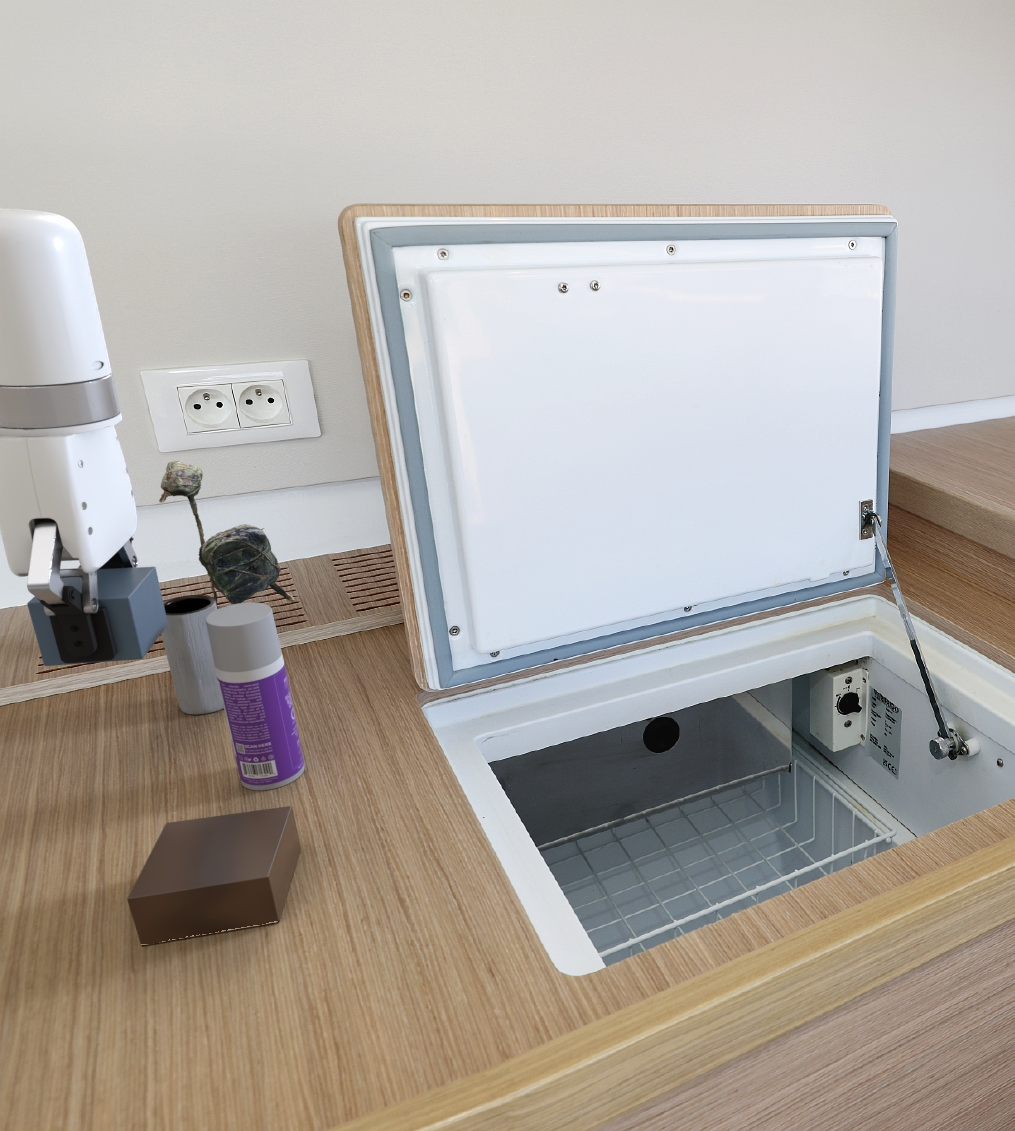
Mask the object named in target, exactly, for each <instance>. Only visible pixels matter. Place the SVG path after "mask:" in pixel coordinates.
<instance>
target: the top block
mask: <svg viewBox="0 0 1015 1131" xmlns="http://www.w3.org/2000/svg"><path fill="white" fill-rule="evenodd" d="M96 572H97V587H98V602H99V607H106V610H107V614H108V618H109V622H110V626H111V630H112V634H113V638H114V643H115V647H116V651H117V654H116V656H115V657H114V658H113V659H112V660H108V661H95V662H81V663H64V662H62V661H61V659H60V655H59V651H58V648H57V644H56V640H55V636H54V633H53V629H52V625H51V622H50V618H49V616H47V615H46V614H45V611H44V605H42V604H41V602H40V601H39V600H38V598H37V597H35V596H33V597H32V598H31V599H30V600H29V601H28V602H27V603H26V604H27V608H28V613H29V617H30V619H31V623H32V627H33V630H34V634H35V637H36V641H37V645H38V649H39V652H40V656H41V659H42V663H43V666H44V667H55V666H67V665H79V664H81V665H82V664H92V663H93V664H94V663H107V662H109V663H110V662H120V661H121V662H122V661H136V660H143V659H145V657H146V655H147V654H148V653H149V651H150V650H151V648H152V647H153V645H154V644H155V643H156V642H157V640H158V639H159V637H160V636H162V635H161V633H162V632H163V630H164V629H165V628H166V626H167V625H168V622H167V617H166V613H165V608H164V604H163V602H164V599H163V595H162V591H161V586H160V581H159V576H158V572H157V568H156V566H140V567H138V566H137V568H115V569H97V570H96ZM61 580H62V581H63V582H64V585H65V586H73V587H74V588H76V589H77V590H78V591H79V592H81V593H82V591H81V577H70V578H61Z"/></svg>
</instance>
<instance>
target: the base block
mask: <svg viewBox="0 0 1015 1131" xmlns="http://www.w3.org/2000/svg"><path fill="white" fill-rule="evenodd" d="M301 850H302V847H301V841H300V837H299V832H298V827H297V823H296V817H295V813H294V808H293V806H292V805H287V806H279V807H273V808H266V809H258V810H250V811H244V812H243V811H242V812H236V813H229V814H221V815H214V816H208V817H206V816H205V817H199V818H193V819H184V820H178V821H177V820H176V821H171V822H166V823H165V825H164V827H162V830H161V832H160V834H159V835H158V838H157V840H156V841H155V844H154V845H153V847H152V850H151V852H150V854H149V855H148V857H147V859H146V861H145V862H144V865H143V867H142V869H141V871H140V873H139V875H138V877H137V879H136V881H135V883H134V884H133V887H132V888H131V890H130V893H129V894H128V896H127V897H126V898H127V899H126V900H127V904H128V907H129V910H130V914H131V916H132V920H133V923H134V927H135V930H136V933H137V937H138V941H139V943H140V945H141V944H153V943H159V942H162V941H168V940H169V939H170V940H172V939H179V938H185V937H186V936H188V937H190V936H192V935H194V936H196V935H199V934H200V935H202V934H209V933H215V932H218V931H219V932H221V931H222V930H226V931H227V930H228V929H235V928H241V927H247V926H253V925H262V924H266V923H269V922H274V921H278V920H279V919H280V920H281V918H280V915H281V916H282V914H283V911H282V909H283V910H284V908H283V906H284V907H285V904H286V901H285V899H286V900H287V898H288V893H289V890H290V887H291V884H292V880H293V877H294V873H295V870H296V867H297V865H298V861H299V857H300V854H301ZM286 897H287V898H286ZM284 903H285V904H284ZM281 913H282V914H281ZM159 944H160V943H159ZM153 945H154V944H153Z"/></svg>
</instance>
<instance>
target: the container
mask: <svg viewBox="0 0 1015 1131" xmlns="http://www.w3.org/2000/svg"><path fill="white" fill-rule="evenodd" d="M225 606H226V607H222V608H220V609H217V610H215V611H213V612H212V613H210V614H209V615H208V616H207V617H206V624H207V629H208V635H209V640H210V645H211V650H212V655H213V660H214V665H215V670H216V676H217V681H218V685H219V689H220V693H221V698H222V702H223V706H224V708H223V710H224V714H225V715H224V716H225V719H226V723H227V727H228V732H229V737H230V741H231V745H232V748H233V753H234V757H235V761H236V766H237V770H238V774H239V779H240V782H241V785H242V786H243V787H244V788H246V789H248V790H250V791H269V790H274V789H278V788H282V787H284V786H287V785H290V784H291V783H294V781H296V780H297V779H299V778H300V777H301V776H302V775H303V774H304V771H305V769H306V768H305V761H304V760H305V759H304V756H303V755H304V754H303V751H302V745H301V740H300V734H299V730H298V726H297V720H296V715H295V710H294V709H295V708H294V704H293V700H292V695H291V689H290V684H289V679H288V674H287V670H286V669H287V668H286V664H285V660H284V656H283V652H282V648H281V642H280V639H279V635H278V630H277V626H276V621H275V618H274V613H273V609H272V607H271V605H268V604H266V603H262V602H242V603H239V604H234V605H231V604H230V605H225Z"/></svg>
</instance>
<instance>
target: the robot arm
mask: <svg viewBox="0 0 1015 1131" xmlns="http://www.w3.org/2000/svg"><path fill="white" fill-rule="evenodd" d="M109 357H110V356H109V352H108V347H107V343H106V339H105V334H104V329H103V324H102V319H101V315H100V310H99V305H98V301H97V296H96V292H95V287H94V283H93V278H92V274H91V269H90V264H89V260H88V255H87V251H86V247H85V243H84V240H83V237H82V234H81V232H80V230H79V229H78V228H77V227H76V224H75V223H73V221H72V220H70V219H68V218H67V217H65V216H63V215H60V214H58V213H55V212H49V211H43V210H35V209H25V208H24V209H23V208H8V207H7V208H6V207H5V208H4V207H3V208H2V207H0V535H1V540H2V544H3V548H4V552H5V556H6V560H7V564H8V568H9V570H10V572H12V574H13V575H14V576H17V577H18V578H24V577H27V580H26V588H27V591H28V592H29V593H30V594H31V595H32V596H33V597H37V598H38V600H39V601H40V602H41V604H42V605H44V611H45V614H46V615H47V616H49V618H50V622H51V625H52V629H53V633H54V636H55V640H56V644H57V648H58V651H59V655H60V659H61V661H62V662H64V663H81V662H95V661H108V660H112V659H113V658H114V657H115V656H116V654H117V651H116V647H115V643H114V638H113V634H112V630H111V626H110V622H109V618H108V614H107V610H106V607H99V602H98V587H97V572H96V570H97V569H115V568H137V567H138V565H139V560H138V556H137V554H136V552H135V550H134V547H133V545H132V544H133V541H134V537H133V536H134V534H135V533H136V531H137V530H138V529H137V528H138V523H139V522H138V512H137V506H136V500H135V495H134V491H133V486H132V482H131V478H130V475H129V472H128V467H127V464H126V460H125V456H124V453H123V449H122V446H121V443H120V439H119V436H118V434H117V431H116V427H115V426H116V425H119V423H121V422H122V421H123V415H122V411H121V406H120V402H119V397H118V392H117V389H116V384H115V383H116V382H115V379H114V375H113V371H112V366H111V362H110V358H109ZM70 561H71V562H72V561H78V562H79V566H78V567H77V568H76V567H75V568H61V566H62V562H70ZM70 577H81V591H82V593H81V592H79V591H78V590H77V589H76V588H74V587H73V586H65V585H64V582H63V581H62V580H61V578H70Z"/></svg>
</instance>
